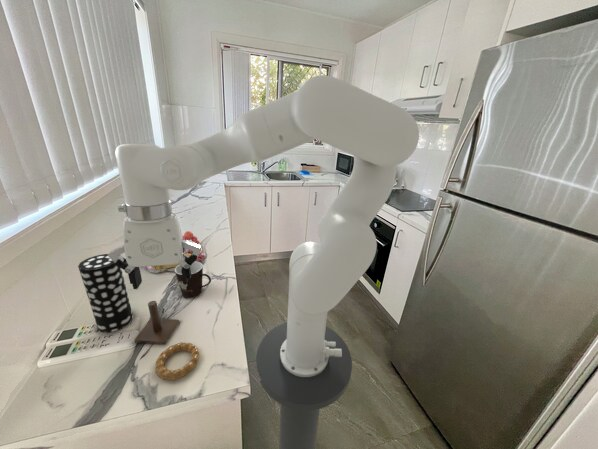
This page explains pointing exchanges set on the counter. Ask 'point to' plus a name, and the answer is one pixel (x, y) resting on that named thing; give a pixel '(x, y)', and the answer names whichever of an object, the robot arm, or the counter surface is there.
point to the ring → (180, 372)
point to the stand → (156, 327)
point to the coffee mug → (192, 280)
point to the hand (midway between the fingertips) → (162, 283)
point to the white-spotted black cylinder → (106, 292)
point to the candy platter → (187, 236)
